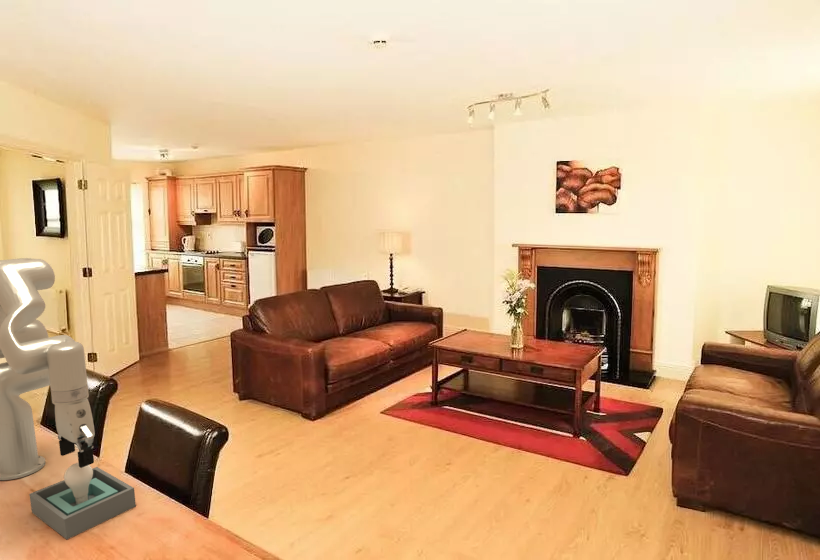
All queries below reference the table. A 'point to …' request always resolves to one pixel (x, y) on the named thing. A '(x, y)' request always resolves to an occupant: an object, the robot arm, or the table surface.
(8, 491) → the table surface
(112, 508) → the open box
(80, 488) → the lightbulb
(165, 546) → the table surface
